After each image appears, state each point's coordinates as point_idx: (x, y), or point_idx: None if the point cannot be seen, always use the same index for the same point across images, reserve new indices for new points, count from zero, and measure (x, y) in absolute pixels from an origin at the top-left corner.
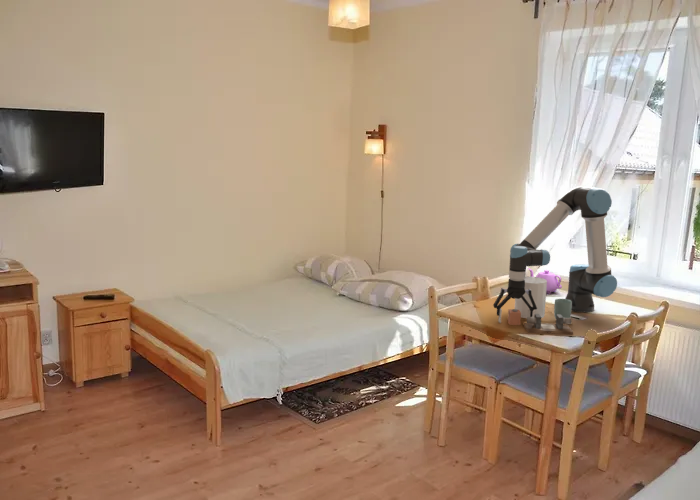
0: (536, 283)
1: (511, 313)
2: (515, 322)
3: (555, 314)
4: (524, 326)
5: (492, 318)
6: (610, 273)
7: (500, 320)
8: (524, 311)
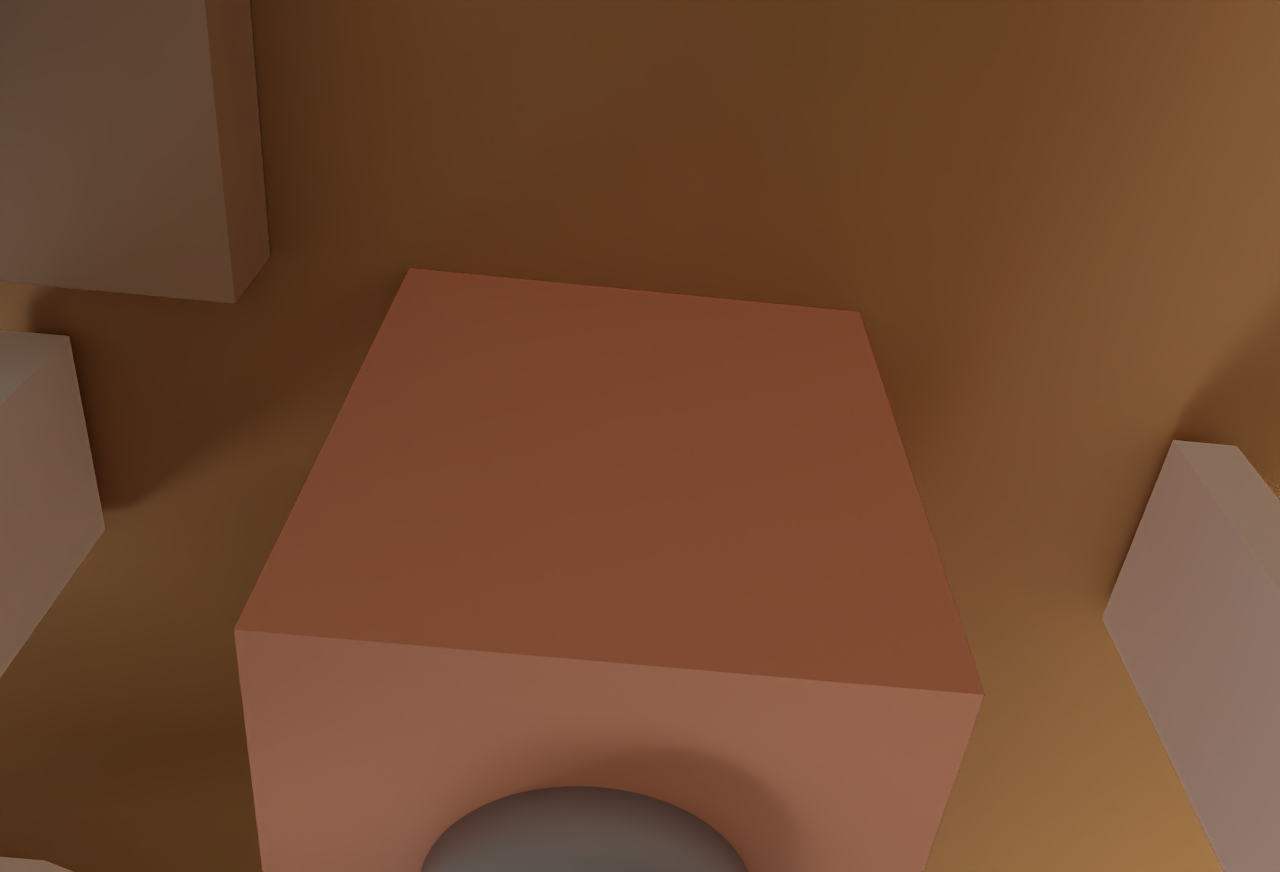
0: None
1: (878, 639)
2: (608, 332)
3: None
4: (248, 8)
5: (1183, 865)
6: None
7: (1237, 500)
8: None
